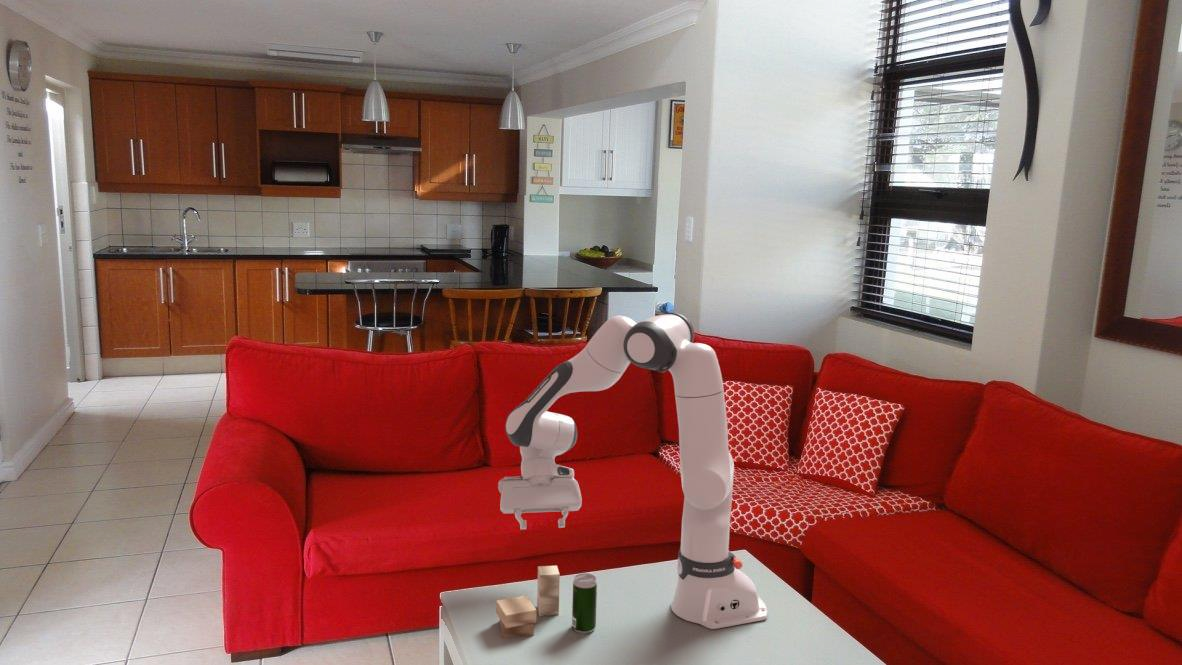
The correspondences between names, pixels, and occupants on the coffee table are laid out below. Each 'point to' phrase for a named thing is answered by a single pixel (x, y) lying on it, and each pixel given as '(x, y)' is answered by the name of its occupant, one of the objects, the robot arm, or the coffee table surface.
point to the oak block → (516, 611)
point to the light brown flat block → (517, 630)
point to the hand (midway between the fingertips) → (542, 527)
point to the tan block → (548, 590)
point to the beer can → (584, 603)
